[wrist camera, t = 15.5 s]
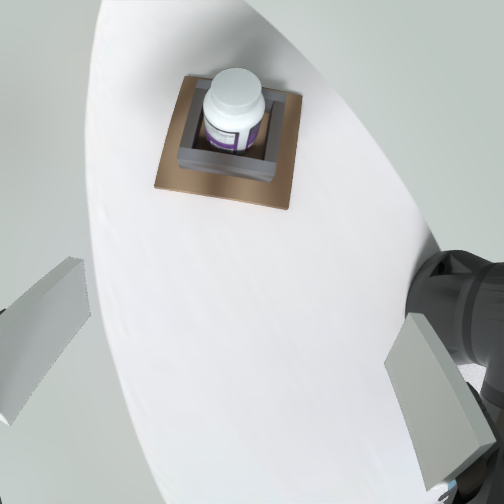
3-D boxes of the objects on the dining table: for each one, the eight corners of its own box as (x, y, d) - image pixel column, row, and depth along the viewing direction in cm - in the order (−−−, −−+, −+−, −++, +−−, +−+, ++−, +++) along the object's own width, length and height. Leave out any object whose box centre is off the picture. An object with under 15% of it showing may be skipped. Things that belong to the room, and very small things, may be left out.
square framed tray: (300, 99, 33) (309, 82, 29) (286, 209, 32) (295, 202, 28) (185, 79, 31) (182, 61, 27) (155, 188, 30) (147, 178, 27)
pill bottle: (244, 107, 31) (254, 54, 21) (264, 147, 31) (282, 102, 21) (198, 123, 30) (192, 72, 21) (216, 165, 30) (216, 124, 21)
